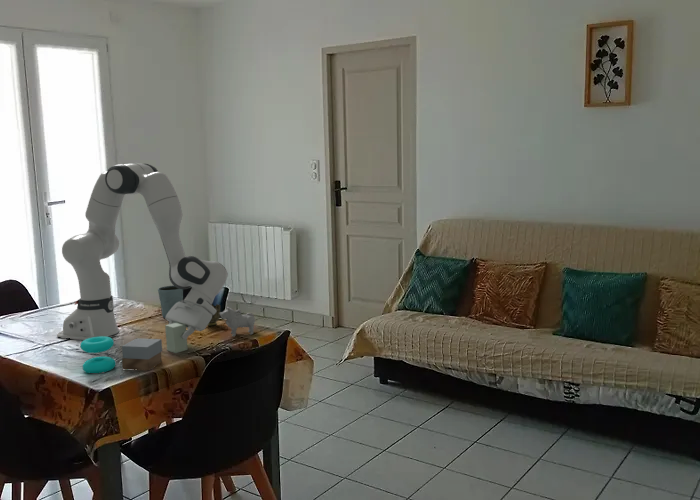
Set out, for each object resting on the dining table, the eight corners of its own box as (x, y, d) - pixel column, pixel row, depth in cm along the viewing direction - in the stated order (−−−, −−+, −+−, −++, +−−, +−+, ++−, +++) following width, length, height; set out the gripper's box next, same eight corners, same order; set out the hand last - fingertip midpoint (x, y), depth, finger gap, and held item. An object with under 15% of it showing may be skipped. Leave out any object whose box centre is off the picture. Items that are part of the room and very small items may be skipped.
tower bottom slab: (122, 370, 222) (121, 358, 222) (136, 362, 231) (135, 350, 231) (149, 371, 221) (148, 359, 220) (161, 362, 229) (160, 350, 229)
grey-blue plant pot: (181, 318, 286) (179, 289, 284) (156, 319, 286) (154, 290, 284) (187, 312, 296) (185, 284, 294) (163, 313, 296) (161, 285, 294)
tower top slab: (122, 358, 222) (121, 346, 222) (137, 349, 231) (136, 338, 230) (148, 359, 220) (147, 347, 219) (162, 351, 229) (161, 339, 228)
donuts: (119, 336, 225) (98, 345, 215) (122, 366, 226) (101, 376, 217) (95, 334, 228) (72, 342, 219) (97, 363, 230) (76, 373, 220)
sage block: (167, 350, 242) (165, 325, 240) (179, 347, 245) (177, 322, 244) (175, 353, 238) (173, 327, 237) (187, 349, 242) (185, 324, 241)
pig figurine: (220, 334, 260) (218, 306, 259) (254, 330, 264) (252, 303, 262) (221, 337, 255) (219, 309, 254) (256, 334, 259) (254, 306, 257)
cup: (225, 323, 275) (223, 303, 274) (215, 328, 268) (214, 308, 267) (208, 322, 278) (207, 303, 276) (198, 327, 271) (197, 307, 269)
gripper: (174, 294, 251) (152, 326, 246) (208, 301, 237) (185, 336, 232) (186, 304, 255) (165, 336, 250) (219, 312, 241) (197, 346, 236)
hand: (175, 336), depth 241 cm, fingers open, 8 cm apart
